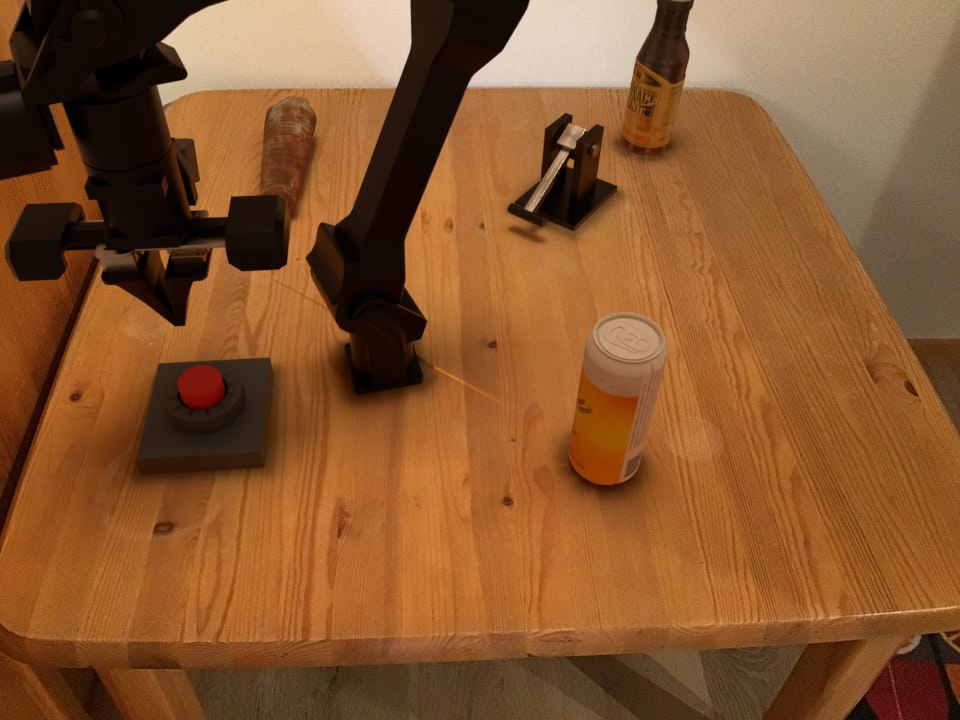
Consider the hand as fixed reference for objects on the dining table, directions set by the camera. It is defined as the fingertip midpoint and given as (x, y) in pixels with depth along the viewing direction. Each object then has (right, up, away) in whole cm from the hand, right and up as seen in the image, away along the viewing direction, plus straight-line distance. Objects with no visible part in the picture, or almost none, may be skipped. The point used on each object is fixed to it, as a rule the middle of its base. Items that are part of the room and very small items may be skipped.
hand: (181, 322), depth 67 cm
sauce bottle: (+45, +24, +42) cm, 66 cm away
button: (0, -6, +6) cm, 8 cm away
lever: (+32, +17, +28) cm, 46 cm away
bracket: (+34, +16, +33) cm, 50 cm away
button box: (0, -8, +9) cm, 12 cm away
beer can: (+34, -12, +7) cm, 37 cm away
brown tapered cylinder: (+1, +19, +36) cm, 41 cm away
